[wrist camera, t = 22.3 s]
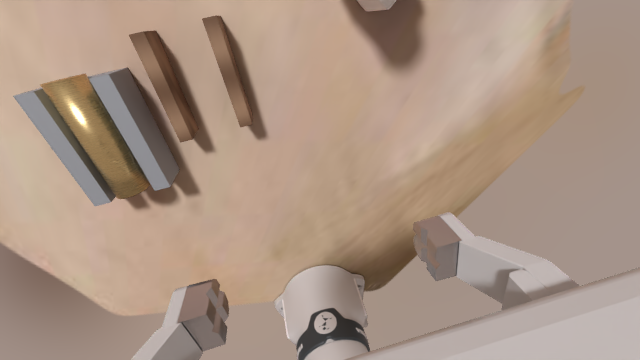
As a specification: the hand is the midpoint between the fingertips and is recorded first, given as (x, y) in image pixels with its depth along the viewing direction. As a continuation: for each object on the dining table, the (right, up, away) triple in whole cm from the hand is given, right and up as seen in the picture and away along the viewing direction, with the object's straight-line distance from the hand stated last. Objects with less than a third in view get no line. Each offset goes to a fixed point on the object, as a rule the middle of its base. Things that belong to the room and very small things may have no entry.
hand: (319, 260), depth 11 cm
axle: (-25, +8, +22) cm, 34 cm away
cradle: (-26, +9, +25) cm, 37 cm away
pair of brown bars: (-15, +16, +24) cm, 32 cm away
